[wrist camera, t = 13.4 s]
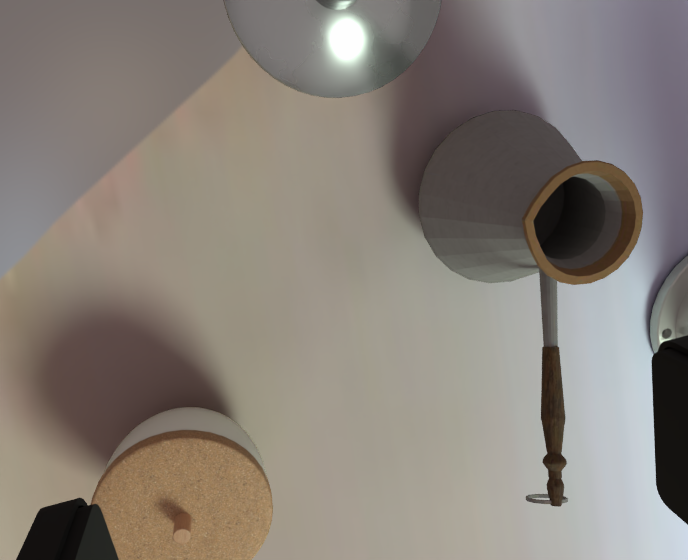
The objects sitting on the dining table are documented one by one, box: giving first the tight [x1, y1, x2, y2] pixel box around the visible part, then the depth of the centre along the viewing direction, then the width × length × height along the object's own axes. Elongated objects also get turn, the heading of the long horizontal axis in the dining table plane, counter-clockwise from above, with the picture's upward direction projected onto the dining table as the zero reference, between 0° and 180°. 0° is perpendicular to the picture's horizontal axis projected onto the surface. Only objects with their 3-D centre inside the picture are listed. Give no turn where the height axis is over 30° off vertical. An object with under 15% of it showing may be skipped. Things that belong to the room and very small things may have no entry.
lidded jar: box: [91, 407, 273, 560], centre depth 39 cm, size 11×11×9 cm
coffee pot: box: [419, 110, 643, 506], centre depth 37 cm, size 21×12×15 cm, turn 174°
